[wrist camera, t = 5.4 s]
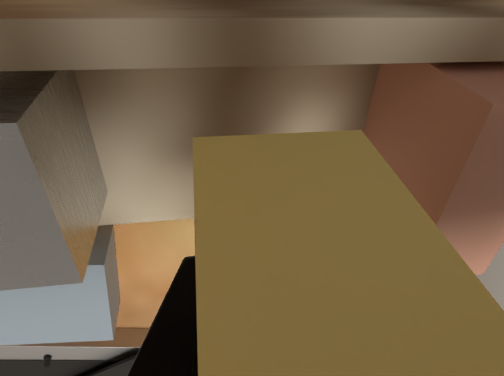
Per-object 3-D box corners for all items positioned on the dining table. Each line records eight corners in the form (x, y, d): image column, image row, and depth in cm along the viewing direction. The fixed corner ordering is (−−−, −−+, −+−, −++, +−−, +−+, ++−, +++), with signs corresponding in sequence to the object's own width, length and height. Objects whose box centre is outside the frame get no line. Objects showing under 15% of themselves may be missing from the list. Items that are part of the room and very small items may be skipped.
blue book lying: (114, 221, 19) (104, 264, 17) (121, 296, 23) (113, 340, 21) (-14, 218, 18) (-44, 265, 15) (16, 298, 22) (-5, 345, 19)
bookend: (70, 55, 12) (16, 122, 8) (107, 191, 16) (82, 282, 12) (-25, 56, 12) (-128, 128, 8) (36, 196, 16) (-14, 291, 12)
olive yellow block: (360, 129, 9) (614, 451, 3) (322, 285, 12) (419, 551, 7) (192, 137, 8) (201, 528, 3) (205, 297, 12) (219, 593, 7)
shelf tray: (490, -13, 14) (606, 17, 10) (413, 187, 20) (467, 253, 16) (-70, -18, 11) (-200, 19, 8) (36, 213, 18) (-7, 300, 14)
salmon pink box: (459, 36, 14) (597, 100, 9) (406, 180, 18) (482, 274, 14) (387, 36, 14) (493, 104, 9) (350, 184, 18) (409, 282, 13)
